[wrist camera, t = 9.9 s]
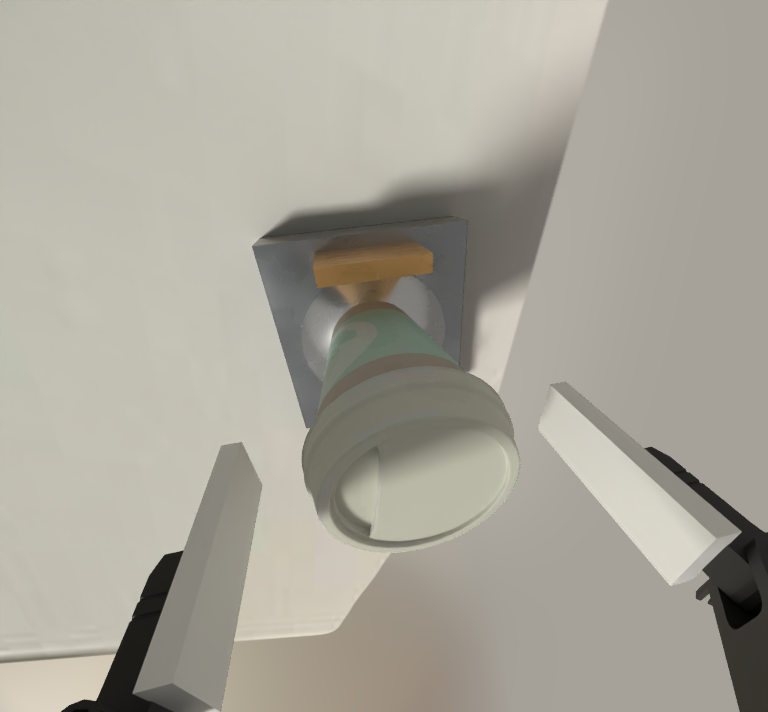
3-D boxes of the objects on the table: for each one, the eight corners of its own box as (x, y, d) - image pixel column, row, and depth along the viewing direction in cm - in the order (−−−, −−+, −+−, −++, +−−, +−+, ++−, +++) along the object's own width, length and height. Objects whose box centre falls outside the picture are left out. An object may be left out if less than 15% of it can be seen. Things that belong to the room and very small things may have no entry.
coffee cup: (356, 251, 18) (403, 354, 8) (456, 322, 21) (579, 455, 11) (286, 359, 20) (252, 540, 10) (386, 405, 24) (433, 572, 14)
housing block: (260, 238, 19) (237, 261, 14) (452, 216, 20) (496, 229, 15) (307, 407, 26) (304, 463, 21) (446, 383, 28) (474, 430, 22)
